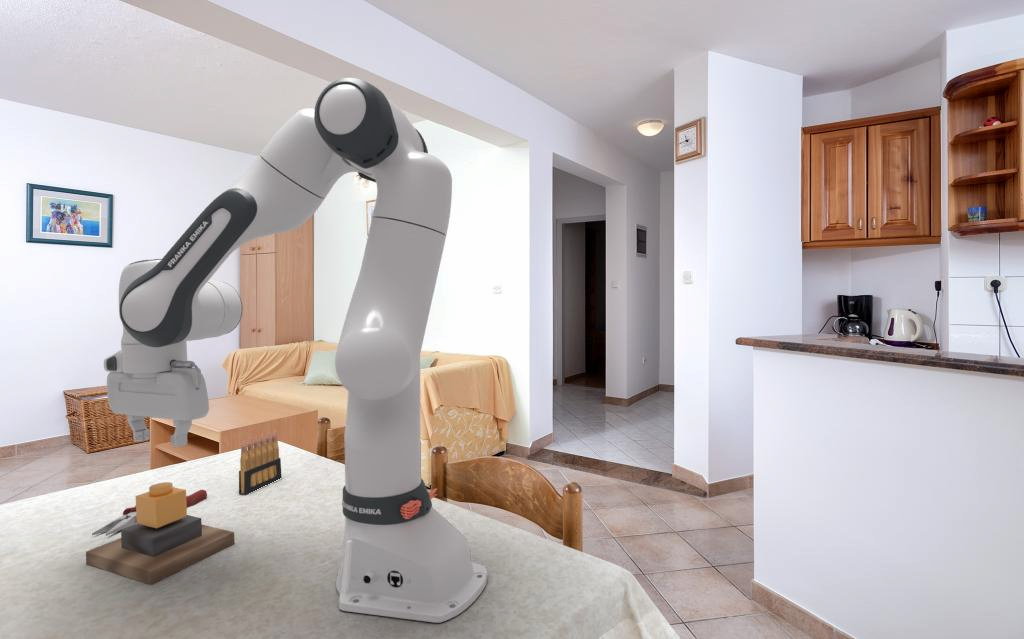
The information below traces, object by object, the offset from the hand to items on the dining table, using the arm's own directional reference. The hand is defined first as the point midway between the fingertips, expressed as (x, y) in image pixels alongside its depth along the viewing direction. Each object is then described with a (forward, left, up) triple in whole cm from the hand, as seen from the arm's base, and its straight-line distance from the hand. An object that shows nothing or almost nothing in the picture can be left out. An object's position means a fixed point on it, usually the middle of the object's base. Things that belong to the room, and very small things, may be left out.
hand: (160, 443), depth 86 cm
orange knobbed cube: (0, 0, -13) cm, 13 cm away
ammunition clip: (+11, -29, -19) cm, 36 cm away
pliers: (+21, -10, -19) cm, 30 cm away
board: (0, 0, -19) cm, 19 cm away
